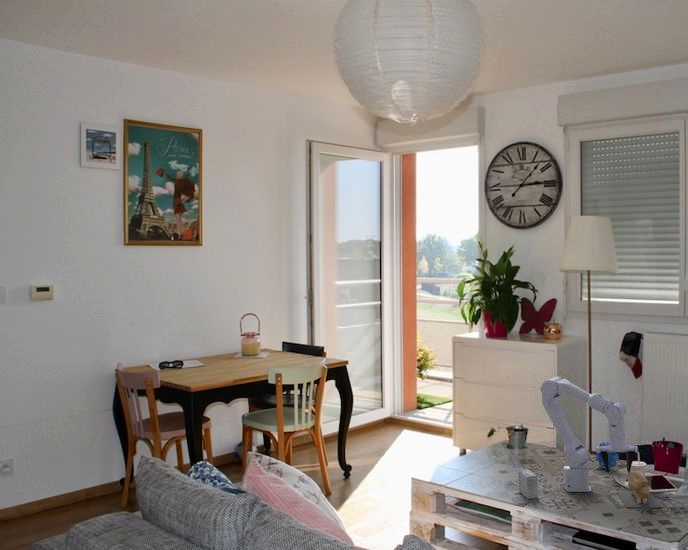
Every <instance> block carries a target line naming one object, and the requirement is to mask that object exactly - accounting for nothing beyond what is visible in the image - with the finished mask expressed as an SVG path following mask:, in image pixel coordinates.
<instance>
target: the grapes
mask: <svg viewBox="0 0 688 550" xmlns="http://www.w3.org/2000/svg"><path fill="white" fill-rule="evenodd" d="M608 445H609V441H607V442H603V441H602V442H600V443H599V445H598V446H608ZM595 453H596V455H595V458H594V459H595V461H596V462H598V466H599V467H600V468H605V465H604V462H603V459H602V457H601V455H600V453H597V448H595ZM607 453H608V467H609V470H611V468H616V466H617V461H618V460H619V459H620V456H619V454H618V453H617V452H607Z"/></svg>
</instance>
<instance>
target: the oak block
mask: <svg viewBox="0 0 688 550" xmlns="http://www.w3.org/2000/svg"><path fill="white" fill-rule="evenodd" d="M627 484H628V485H627V486H628V489H629V490H630V492H631V491H632V493H633V494H634V495H635V497H636V498H649V491H650V485H649V484H650V482H649V481H648V479H647V477H646V476H645V477H644V475H643V474H642V473H641V472H640V471H630V472H628V471H627Z"/></svg>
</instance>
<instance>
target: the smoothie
mask: <svg viewBox="0 0 688 550" xmlns="http://www.w3.org/2000/svg"><path fill="white" fill-rule="evenodd" d="M640 460H641V459H640V452H639V451H638V453H637V460H633V462H632V465H631V469H630V471H640V472H641V473H642V474H643V475H644V477H645V478H646V468H647V463H646V462H645V461H640Z"/></svg>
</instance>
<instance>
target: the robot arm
mask: <svg viewBox="0 0 688 550" xmlns="http://www.w3.org/2000/svg"><path fill="white" fill-rule="evenodd" d="M539 390H540V392H541V403H542V406H543V408H544V410H545V411H546V413H547V416H548V417H549V419H550V421H551V423H552V426H553V427H554V428H555V430H556V432H557V434H558V437H559V438H560V440H561V442H562V444H563V454H564V456H565V460H566V464H567V465H564V466H563V467H562V476H563V477H562V480H563V482H562V483H563V487H564V489H565V491H566V492H568V493H575V492H577V493H578V492H579V493H580V492H581V493H583V492H584V493H585V492H586V493H587V492H590V493H591V492H592V488H591V486H590V479H589V477H590V476H589V475H590V474H589V464H588V461H590V458H591V452H590V450H589V449H588V448H587V447H586V446H585V445H584V444H583V442H582V441H580V440H579V439H577V437H576V435H575V434H574V432H573V429H572V428H571V426H570V424H569V422H568V420H567V418H566V416H565V415H564V412H563V411H562V409H561V407H560V405H559V404H558V403H559V399H560V397H561V395H564V394H565V395H566V394H568V395H571V396H573V397H575V398H578V399H579V400H582V401H584V402H587V406H588V407H589V408H591V409H593V410H596V411H597V412H599V413H601V414H603V415H605V417H606V419H607V428H608V430H607V431H608V432H607V434H608V435H607V436H608V442H609V445H608V446H599V445H598V446H595V447H596V448H597V453H600V455H601V457H602V459H603V462H604V465H605V467H604V469H605V472H606V473H609V472H610V469H609V467H608V453H607V452H616V453H625V455H626V457H625V458H626V471H627V473H628V472H630V469H631V465H632V462H633V461H635V458H636V457H637V456H636V453H637V454H638V452H639V447H638V446H637V445H626V440H625V439H626V437H625V436H626V434H625V433H626V432H625V417H624V416H625V415H626V413H627V409H626V406H625V404H623V403H622V402H621V401H615V400H612V399H609V398H607V397H604V396H603V394H602V393H600V392H599V393H595V392H594V393H590V392H588V391H586V390H584V389H583V388H582V387H579V386H578V385H576V384H574V383H572V382H570V381H569V380H568V379H566V378H563V377H562V376H558V375H555V376H553V377H551V378H549V379H546V380H544V381H543V382H542V384H541V387H540V388H539ZM596 448H595V449H596ZM597 453H596V454H597Z"/></svg>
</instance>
